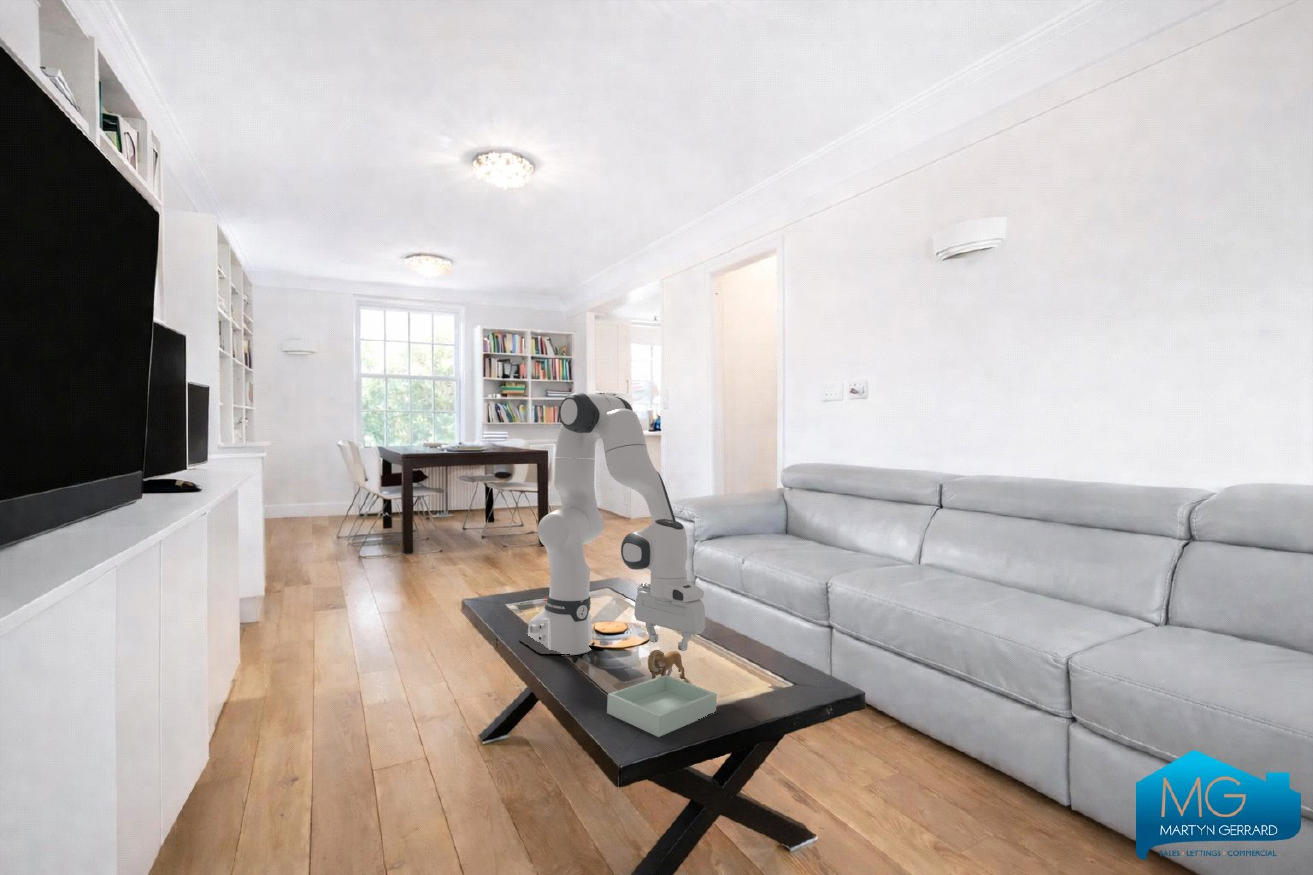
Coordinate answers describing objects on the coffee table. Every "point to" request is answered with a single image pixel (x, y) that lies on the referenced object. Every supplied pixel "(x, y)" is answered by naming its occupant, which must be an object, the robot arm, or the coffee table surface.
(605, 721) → the coffee table surface
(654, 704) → the box
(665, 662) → the lion figurine
